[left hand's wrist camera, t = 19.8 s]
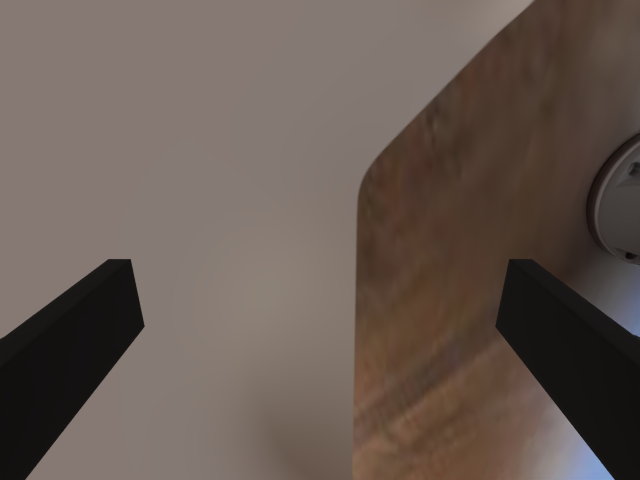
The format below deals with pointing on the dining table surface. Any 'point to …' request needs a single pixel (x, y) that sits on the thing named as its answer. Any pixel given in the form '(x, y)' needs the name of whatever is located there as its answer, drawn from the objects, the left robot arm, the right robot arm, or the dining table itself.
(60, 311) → the left robot arm
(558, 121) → the dining table surface
